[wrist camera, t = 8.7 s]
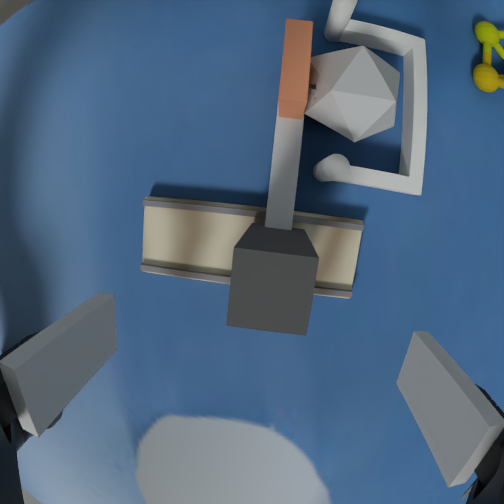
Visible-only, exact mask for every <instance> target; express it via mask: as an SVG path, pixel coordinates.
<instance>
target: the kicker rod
mask: <svg viewBox="0 0 504 504" xmlns="http://www.w3.org/2000/svg"><path fill="white" fill-rule="evenodd" d="M312 30H313V21H305V20H297V19H287V18H286V28H285V38H284V48H283V58H282V68H281V78H280V88H279V98H278V109H277V119H276V128H275V138H274V147H273V156H272V165H271V175H270V184H269V193H268V202H267V211H266V220H265V224H257V223H252V224H251V225H250V226H249V228H248V229H247V230H246V232H245V233H244V234H243V236H242V237H241V238H240V240H239V241H238V242H237V244H236V245H235V246H234V248H233V259H232V270H231V281H230V292H229V303H228V315H227V326H234V327H241V328H249V329H256V330H264V331H272V332H280V333H289V334H298V335H306V332H307V327H308V321H309V316H310V311H311V305H312V299H313V294H314V288H315V282H316V276H317V270H318V264H319V256H318V254H317V253H316V251H315V249H314V247H313V245H312V243H311V241H310V239H309V237H308V235H307V233H306V232H305V230H304V229H298V228H292V221H293V213H294V205H295V197H296V188H297V179H298V170H299V161H300V152H301V142H302V132H303V122H304V111H305V107H306V104H307V97H308V85H309V73H310V59H311V45H312Z"/></svg>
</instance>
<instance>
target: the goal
mask: <svg viewBox="0 0 504 504" xmlns="http://www.w3.org/2000/svg"><path fill="white" fill-rule="evenodd" d="M356 3H357V0H333V1H332V5H331V9H330V12H329V16H328V20H327V23H326V27H325V30H324V36H325V38H326V39H327V40H328V41H330V42H339V41H340V42H345V43H350V44H355V45H360V46H365V47H369V48H373V49H378V50H382V51H386V52H389V53H393V54H397V55H400V56H403V68H404V91H403V123H402V140H401V153H400V164H399V174H393V173H388V172H383V171H378V170H373V169H367V168H362V167H356V166H350V164H349V161H348V160H347V158H346V157H344V156H343V155H341V154H332V155H330V156H328V157H326V158H325V159H323V160H321V161H320V162H318V163H317V164H315V166H314V167H313V175H314V177H315V178H316V179H317V180H318V181H321V182H325V181H338V182H345V183H351V184H357V185H363V186H369V187H375V188H380V189H386V190H391V191H396V192H401V193H406V194H413V195H421V191H422V182H423V172H424V161H425V147H426V129H427V64H426V47H425V39H423V38H420V37H417V36H413V35H410V34H407V33H404V32H400V31H397V30H393V29H390V28H386V27H382V26H378V25H374V24H370V23H366V22H361V21H357V20H352V19H350V18H351V15H352V13H353V11H354V8H355V6H356Z"/></svg>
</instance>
